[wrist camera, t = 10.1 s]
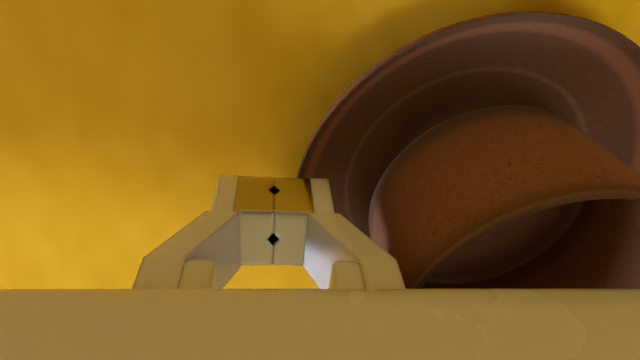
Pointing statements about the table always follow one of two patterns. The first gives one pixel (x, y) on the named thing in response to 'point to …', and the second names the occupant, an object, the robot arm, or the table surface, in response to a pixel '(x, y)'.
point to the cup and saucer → (494, 155)
